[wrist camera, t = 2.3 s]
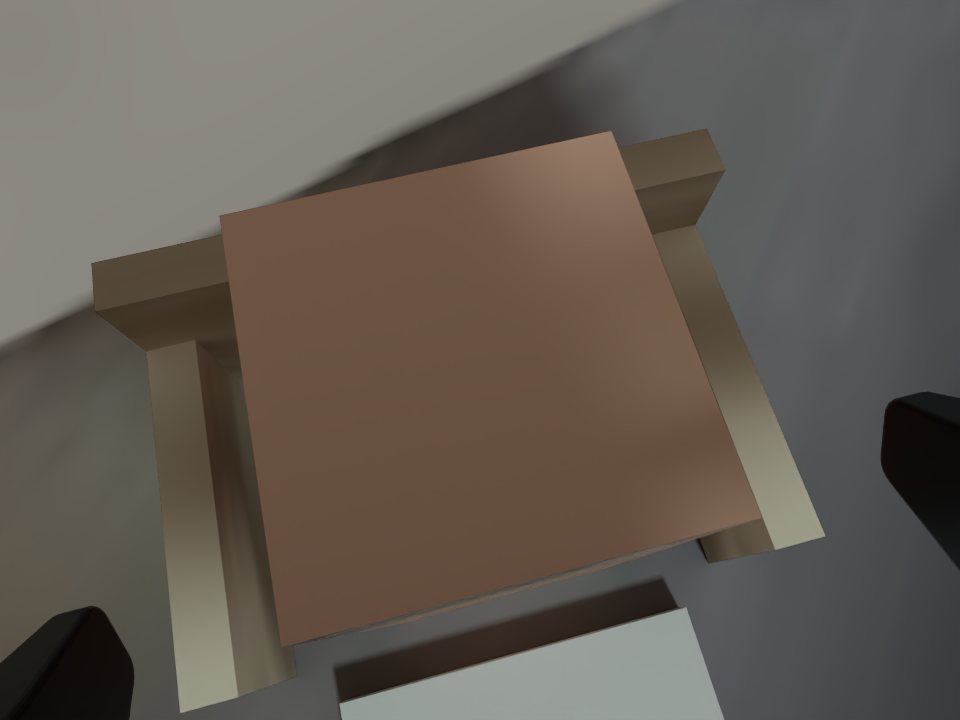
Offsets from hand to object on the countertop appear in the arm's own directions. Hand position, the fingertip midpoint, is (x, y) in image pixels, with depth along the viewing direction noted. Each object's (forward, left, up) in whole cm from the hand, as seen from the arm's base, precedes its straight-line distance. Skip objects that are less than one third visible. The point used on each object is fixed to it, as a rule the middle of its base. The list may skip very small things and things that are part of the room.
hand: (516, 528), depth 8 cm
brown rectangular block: (+2, -1, -9) cm, 10 cm away
